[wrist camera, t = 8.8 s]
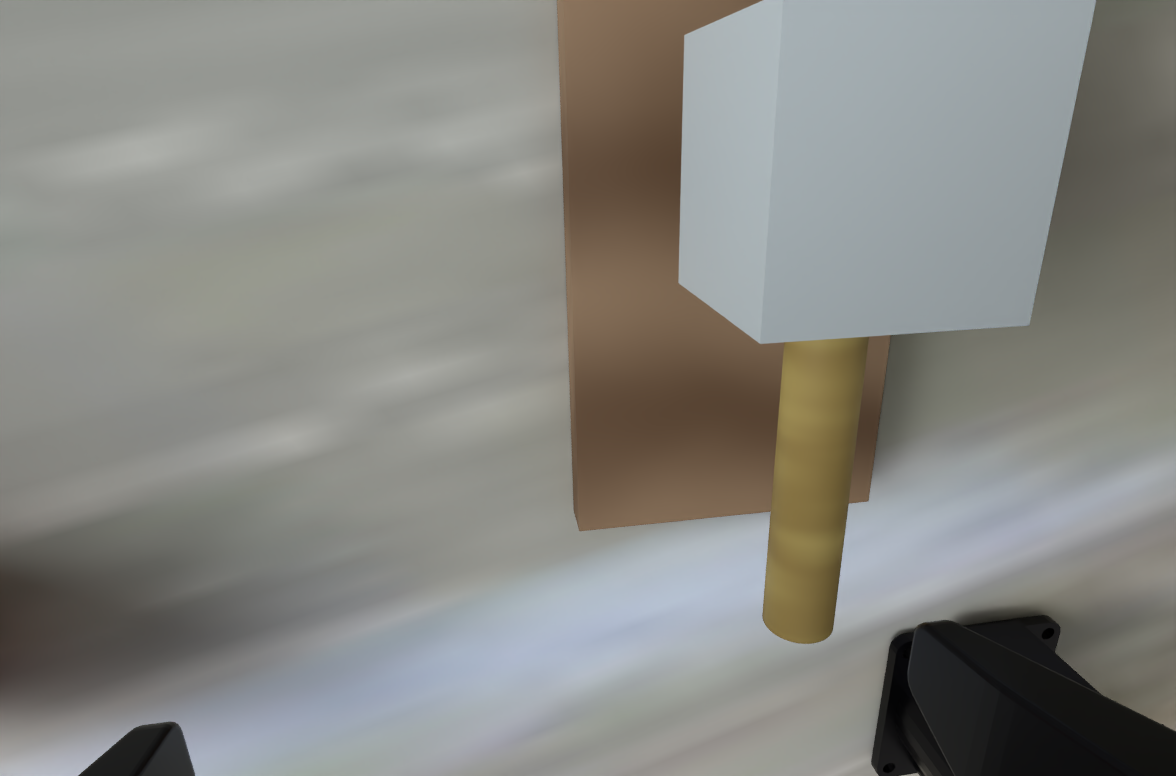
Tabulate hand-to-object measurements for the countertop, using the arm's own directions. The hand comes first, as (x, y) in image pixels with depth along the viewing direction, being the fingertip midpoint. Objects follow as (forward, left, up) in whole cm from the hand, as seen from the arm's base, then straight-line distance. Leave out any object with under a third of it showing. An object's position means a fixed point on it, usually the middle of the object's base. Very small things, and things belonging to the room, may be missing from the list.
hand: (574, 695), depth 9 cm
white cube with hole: (+6, -6, -8) cm, 12 cm away
